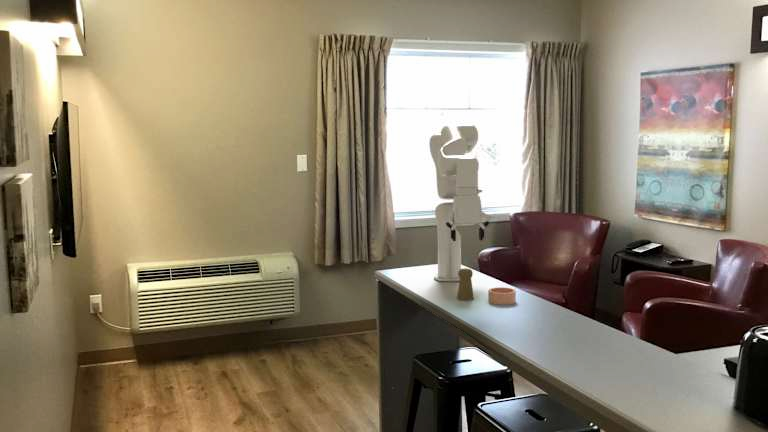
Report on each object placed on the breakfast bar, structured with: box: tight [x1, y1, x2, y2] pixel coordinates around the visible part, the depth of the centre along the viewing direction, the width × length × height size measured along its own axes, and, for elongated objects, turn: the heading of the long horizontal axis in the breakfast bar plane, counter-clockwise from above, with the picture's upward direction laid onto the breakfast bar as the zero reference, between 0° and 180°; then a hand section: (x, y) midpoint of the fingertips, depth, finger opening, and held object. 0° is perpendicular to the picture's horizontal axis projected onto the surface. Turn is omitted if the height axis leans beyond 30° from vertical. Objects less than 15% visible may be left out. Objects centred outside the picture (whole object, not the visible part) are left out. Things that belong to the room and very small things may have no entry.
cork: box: [456, 267, 475, 302], centre depth 250 cm, size 6×6×11 cm
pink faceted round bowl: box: [487, 286, 517, 306], centre depth 245 cm, size 9×9×4 cm
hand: (467, 240), depth 244 cm, fingers open, 9 cm apart
